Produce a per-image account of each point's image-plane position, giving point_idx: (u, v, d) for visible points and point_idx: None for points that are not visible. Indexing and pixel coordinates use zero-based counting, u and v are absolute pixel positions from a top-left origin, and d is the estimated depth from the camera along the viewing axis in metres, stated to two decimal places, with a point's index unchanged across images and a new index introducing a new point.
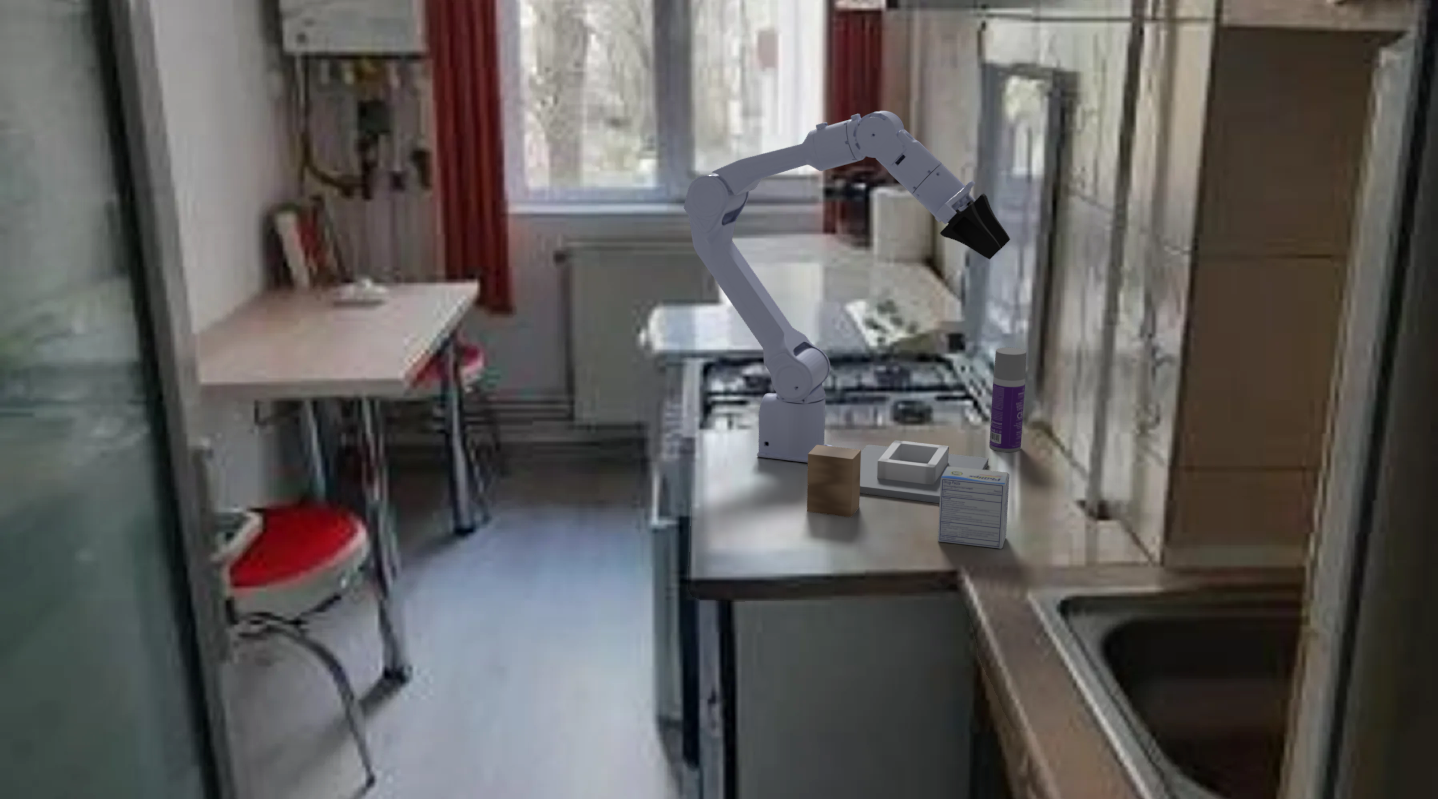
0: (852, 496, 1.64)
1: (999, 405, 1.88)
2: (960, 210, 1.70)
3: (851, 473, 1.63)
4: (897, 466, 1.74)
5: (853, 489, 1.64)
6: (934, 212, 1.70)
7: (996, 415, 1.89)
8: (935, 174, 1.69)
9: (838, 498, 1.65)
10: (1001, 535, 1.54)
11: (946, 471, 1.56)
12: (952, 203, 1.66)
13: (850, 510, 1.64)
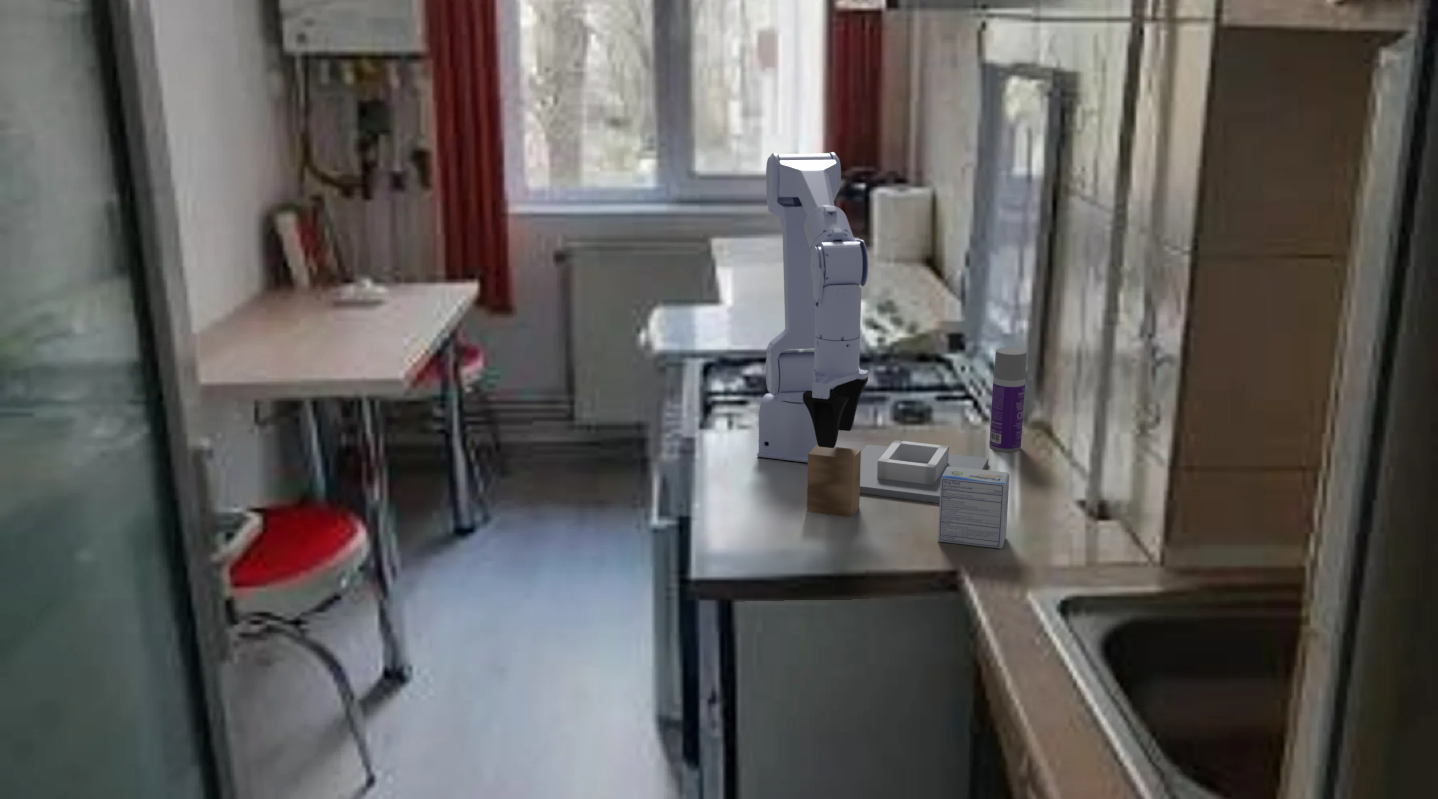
0: (852, 496, 1.64)
1: (999, 405, 1.88)
2: None
3: (851, 473, 1.63)
4: (897, 466, 1.74)
5: (853, 489, 1.64)
6: (816, 367, 1.61)
7: (996, 415, 1.89)
8: (845, 344, 1.58)
9: (838, 498, 1.65)
10: (1001, 535, 1.54)
11: (946, 471, 1.56)
12: (833, 385, 1.57)
13: (850, 510, 1.64)
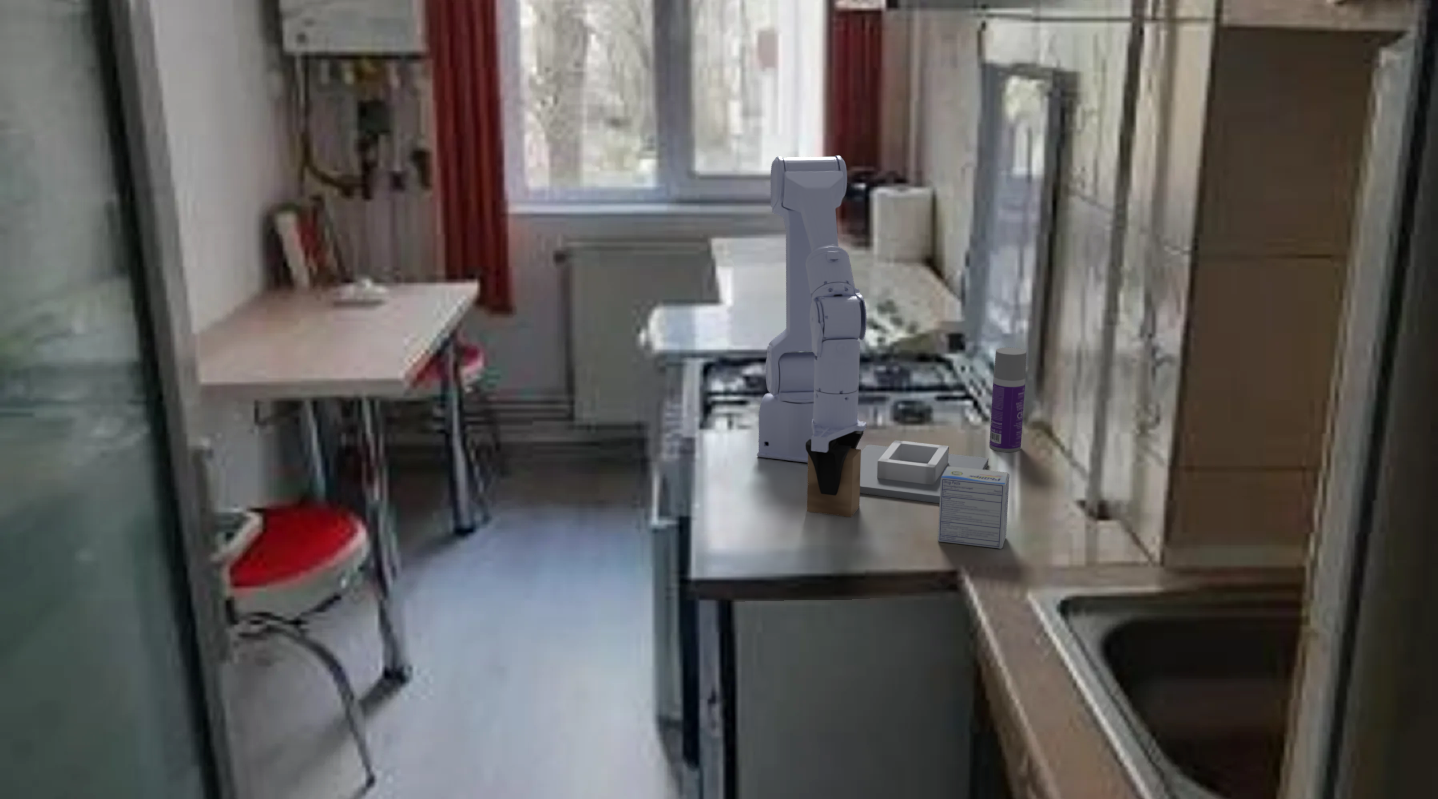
0: (852, 496, 1.64)
1: (999, 405, 1.88)
2: None
3: (851, 473, 1.63)
4: (897, 466, 1.74)
5: (853, 489, 1.64)
6: (815, 419, 1.63)
7: (996, 415, 1.89)
8: (844, 398, 1.60)
9: (838, 498, 1.65)
10: (1001, 535, 1.54)
11: (946, 471, 1.56)
12: (832, 438, 1.59)
13: (850, 510, 1.64)
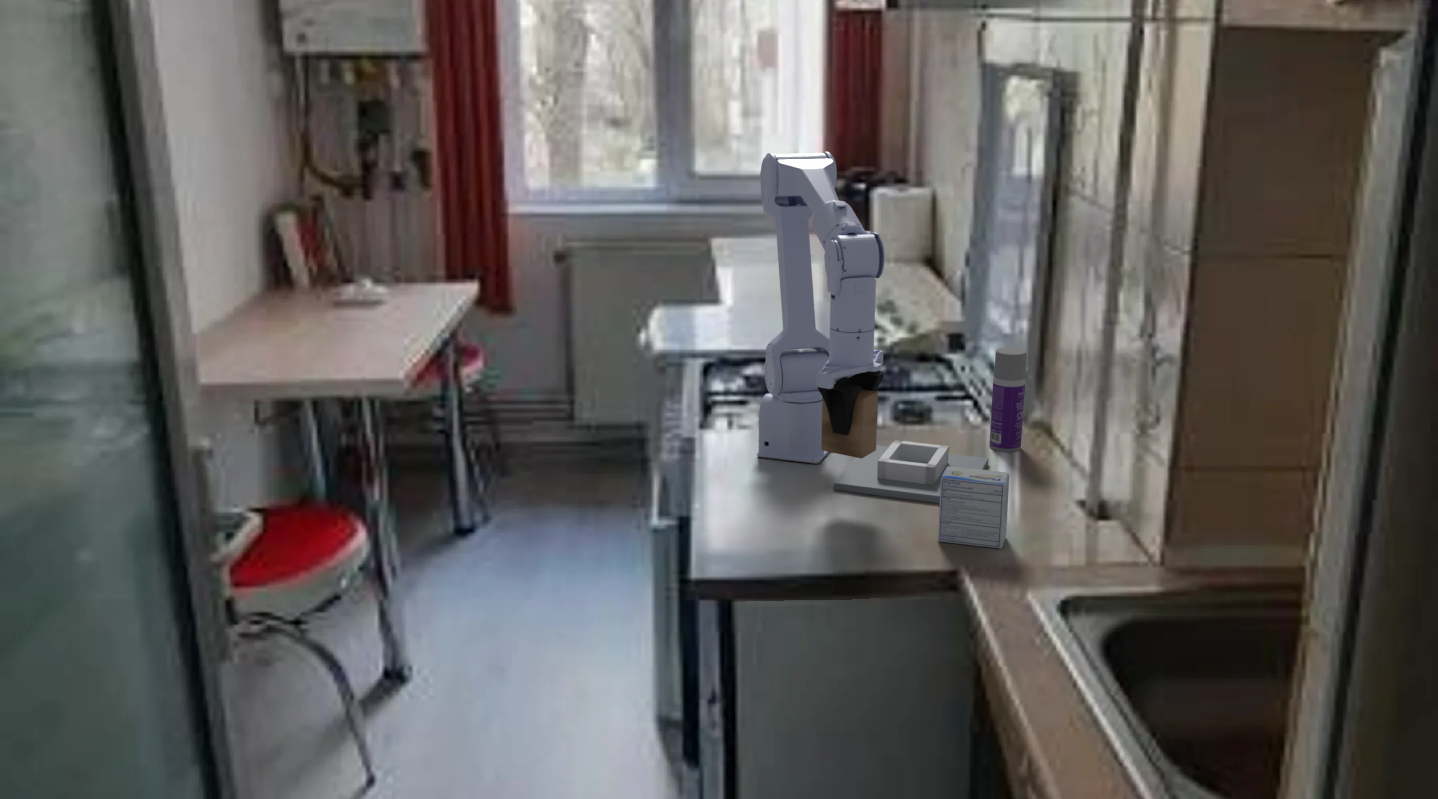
0: (864, 437, 1.64)
1: (999, 405, 1.88)
2: (848, 376, 1.63)
3: (862, 413, 1.63)
4: (897, 466, 1.74)
5: (865, 430, 1.64)
6: (829, 358, 1.63)
7: (996, 415, 1.89)
8: (855, 337, 1.60)
9: (850, 438, 1.64)
10: (1001, 535, 1.54)
11: (946, 471, 1.56)
12: (839, 376, 1.59)
13: (861, 451, 1.64)
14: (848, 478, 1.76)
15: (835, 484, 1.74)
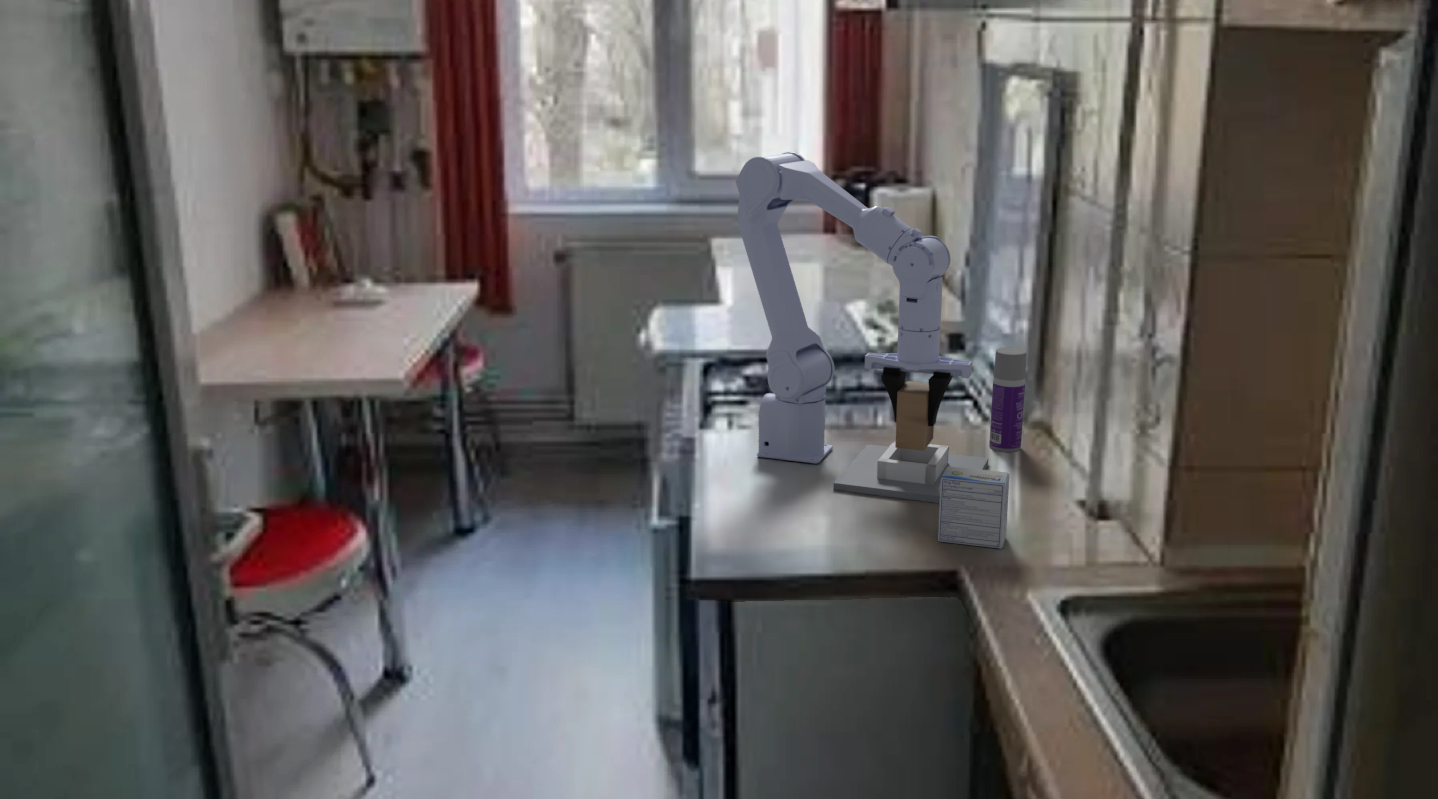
0: (899, 429, 1.75)
1: (999, 405, 1.88)
2: (908, 370, 1.75)
3: (897, 405, 1.74)
4: (897, 466, 1.74)
5: (902, 423, 1.75)
6: None
7: (996, 415, 1.89)
8: (900, 332, 1.73)
9: None
10: (1001, 535, 1.54)
11: (946, 471, 1.56)
12: (876, 361, 1.75)
13: (896, 440, 1.76)
14: (848, 478, 1.76)
15: (835, 484, 1.74)
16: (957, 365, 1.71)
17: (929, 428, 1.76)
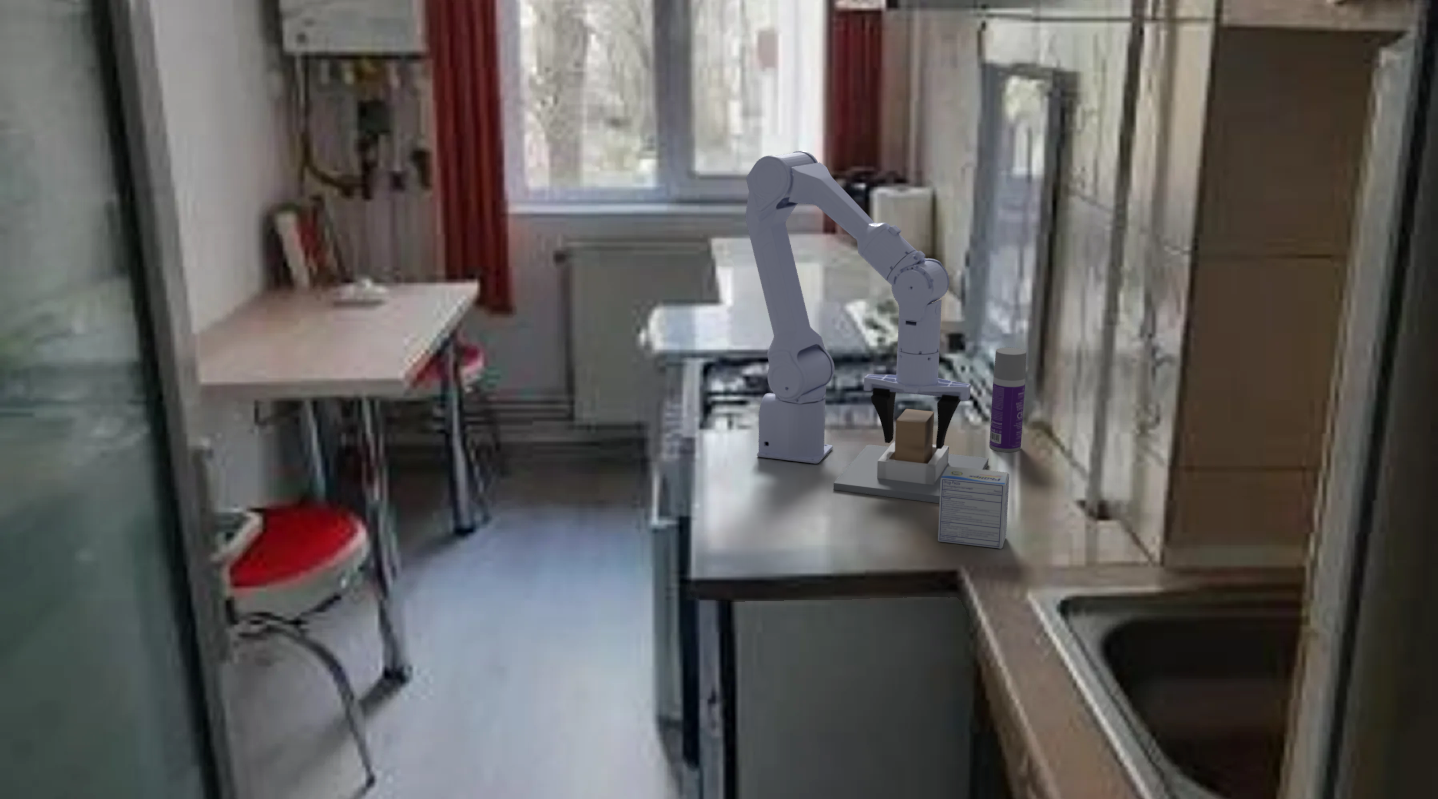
0: (898, 457, 1.76)
1: (999, 405, 1.88)
2: (907, 392, 1.76)
3: None
4: (897, 466, 1.74)
5: (900, 451, 1.76)
6: None
7: (996, 415, 1.89)
8: (899, 354, 1.73)
9: None
10: (1001, 535, 1.54)
11: (946, 471, 1.56)
12: (875, 383, 1.76)
13: None
14: (848, 478, 1.76)
15: (835, 484, 1.74)
16: (956, 387, 1.72)
17: (927, 456, 1.78)
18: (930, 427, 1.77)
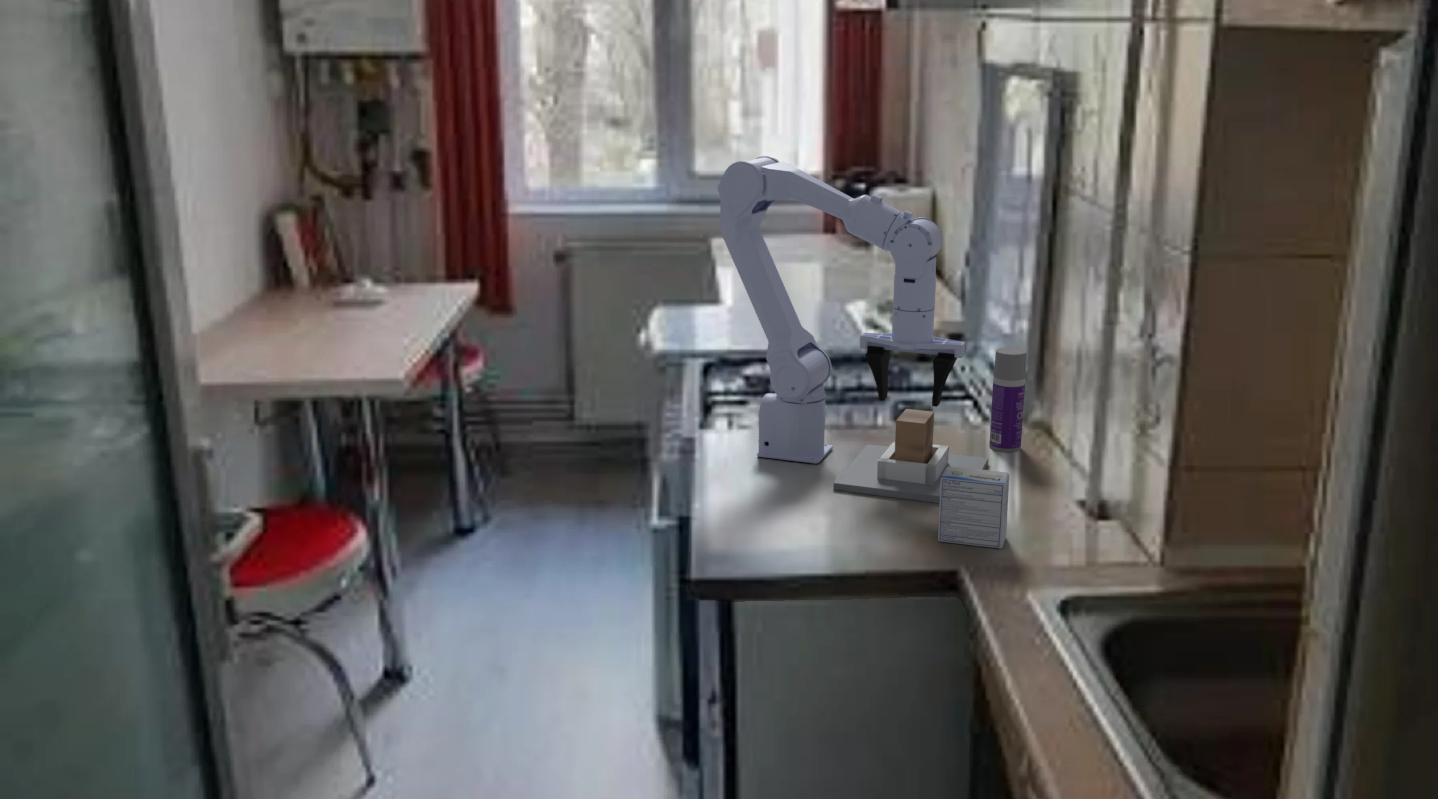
0: (898, 457, 1.76)
1: (999, 405, 1.88)
2: (902, 350, 1.78)
3: None
4: (897, 466, 1.74)
5: (900, 451, 1.76)
6: None
7: (996, 415, 1.89)
8: (894, 312, 1.75)
9: None
10: (1001, 535, 1.54)
11: (946, 471, 1.56)
12: (871, 341, 1.78)
13: None
14: (848, 478, 1.76)
15: (835, 484, 1.74)
16: (950, 345, 1.74)
17: (927, 456, 1.78)
18: (930, 427, 1.77)
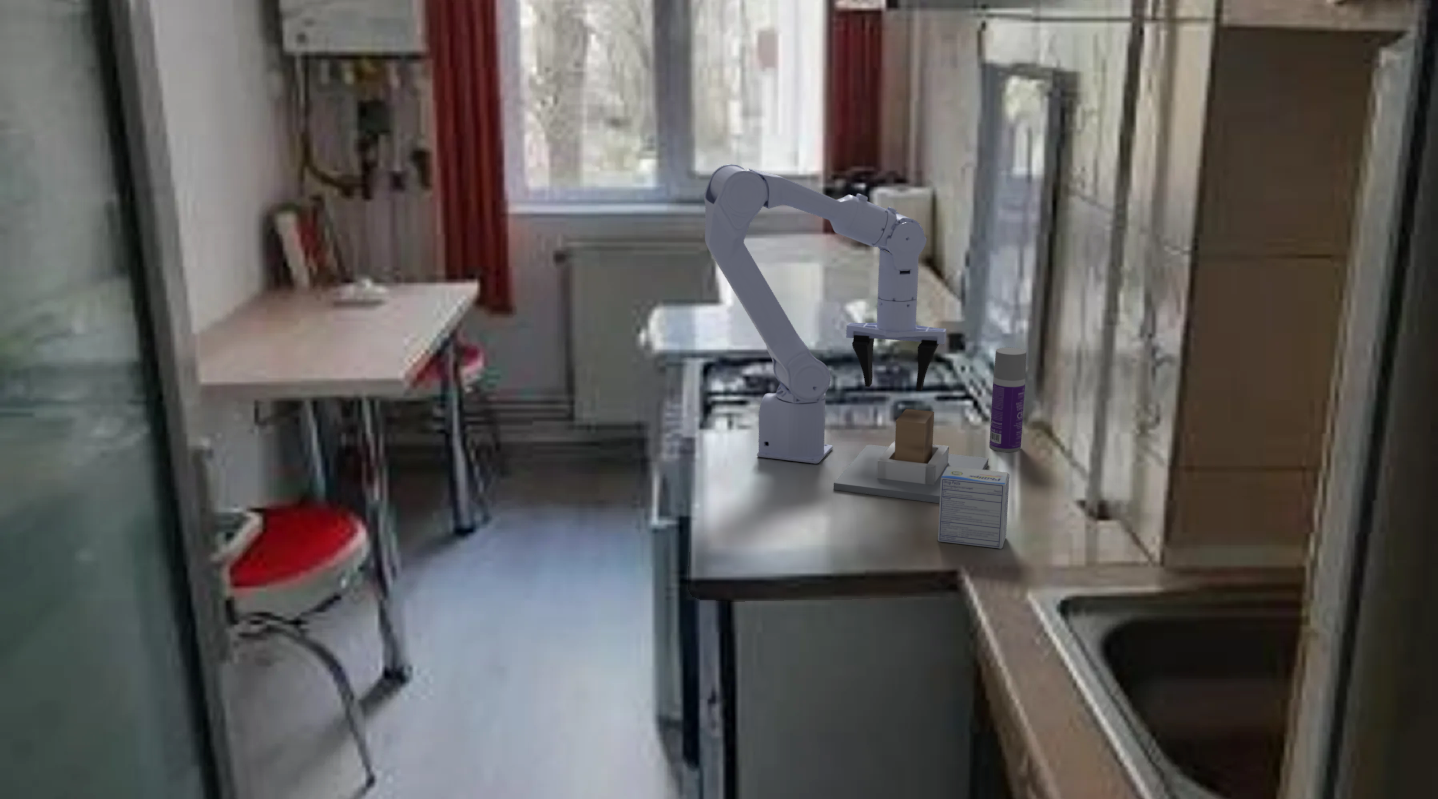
0: (898, 457, 1.76)
1: (999, 405, 1.88)
2: (887, 338, 1.87)
3: None
4: (897, 466, 1.74)
5: (900, 451, 1.76)
6: None
7: (996, 415, 1.89)
8: (879, 302, 1.85)
9: None
10: (1001, 535, 1.54)
11: (946, 471, 1.56)
12: (857, 330, 1.88)
13: None
14: (848, 478, 1.76)
15: (835, 484, 1.74)
16: (933, 332, 1.84)
17: (927, 456, 1.78)
18: (930, 427, 1.77)
